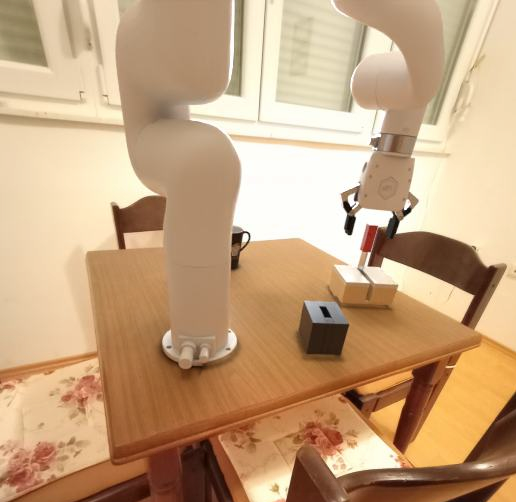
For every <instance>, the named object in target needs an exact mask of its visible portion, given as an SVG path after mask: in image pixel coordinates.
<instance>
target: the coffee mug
mask: <svg viewBox="0 0 516 502" xmlns="http://www.w3.org/2000/svg"><path fill="white" fill-rule="evenodd" d="M244 234H247V236H248V237H247V238H248V239H247V241H246V243H245V244H244V245H243V246H242V243H243V238H244ZM251 239H252V238H251V233H250V232H249V231H247V230H245V229H244V228H243V227H241V226H238V225H234V224H233V228H232V242H231V271H232V270H236V269H238V268H239V262H240V257H241V252H242V251H243V250H244V249H245V248H246V247H247V246H248V245H249V243H250V241H251Z"/></svg>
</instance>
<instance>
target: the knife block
mask: <svg viewBox="0 0 516 502" xmlns="http://www.w3.org/2000/svg"><path fill="white" fill-rule="evenodd" d="M349 327H350V322H349V321H348V320H347V318H346V317H345V315H344V313H343V311H342V309H341V307H340V306H339V304H338V303H337V301H317V300H315V301H314V300H303V303H302V309H301V314H300V320H299V326H298V332H299V335H300V338H301V341H302V345H303V347H304V350H305V353H306V355H332V356H341V355H342V352H343V349H344V344H345V342H346V339H347V335H348V331H349Z"/></svg>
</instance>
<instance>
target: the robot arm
mask: <svg viewBox="0 0 516 502" xmlns="http://www.w3.org/2000/svg"><path fill="white" fill-rule="evenodd" d="M330 1H331V4H332V5H333V7H334V8H335V10H336V11H337V12H339V13H340V14H342V15H344V16H345V17H347V18H349V19H351V20H353V21H355V22H357V23H360V24H362V25H364V26H367V27H369V28H372V29H374V30H376V31H378V32H380V33H382V34H383V35H384V36H386V37H388V38H389V39H390V40H391V41H392V42H393V43H394V45H395V46H396V47H397V48H398V50H392V51H384V52H382V51H381V52H377V53H372V54H370V55H368V56H366V57H365V58H363V59H362V60H361V61H360V62H359V63H358V65H356V67H355V69H354V71H353V74H352V76H351V80H350V92H351V96H352V99H353V101H354V103H355V104H356V105H357V106H358V107H360V108H362V109H364V110H369V111H371V110H372V111H382V113H381V117H380V120H379V124H378V129H377V132H376V134H375V135H374V136H373V137H371V136H369V138H368V140H367V146H370V147H371V150H372V152H368V155H367V157H366V159H365V161H364V164H363V166H362V169H361V172H360V174H359V177H358V181H357V183H356V184H354V185H352V186H349V187H347V188H344V189H343V190H342V189H341V191H339V198H340V203H341V207H342V208H343V210H344V211H345V213H346V217H345V221H344V227H343V231H344V233H345V234H346V235H347V236H350V237H351V236H352V235H353V232H354V228H355V224H356V220H357V217H356V214H357V213H358V212H359V211H360V210H361V209H365V210H372V211H373V210H374V211H384V212H385V211H386V212H390V213H391V215H392V217H390V218H389V219H388V224H387V226H386V228H385V229H386V230H385V232H384V236H385V237H386V238H388V239H389V240H393V239H394V238H395V235H396V234H397V232H398V230H399V226H400V222H403V220H404V218H405V217H407V216H408V215H410V214H411V213H412V211H413V209H414V208H415V207H416V206H417V205H418V204H419V202H420V199H419V198H417V197H416V196H415V195H414V194H413V193H412V192H410V189H411V185H412V181H413V176H414V170H415V163H416V162H415V161H416V157H412V155H413V153H414V149H415V146H416V143H417V140H418V136H419V134H420V130H421V127H422V123H423V120H424V117H425V114H426V111H427V108H428V105H429V103H431V102H432V101H433V100H434V98H435V97H436V96H437V93H438V92H439V90H440V87H441V86H442V81H443V78H444V73H445V66H446V65H445V64H446V62H445V61H446V59H445V58H446V54H445V53H446V51H445V49H446V47H445V36H444V35H445V34H444V24H443V16H442V12H441V9H440V6H439V4H438V2H437V0H330ZM116 30H117V31H116V35H115V47H114V48H115V49H114V52H115V57H114V58H115V68H116V76H117V83H118V91H119V97H120V98H119V99H120V106H121V107H120V108H121V114H122V122H123V127H124V128H123V129H124V136H125V143H126V149H127V153H128V157H129V162H130V165H131V167H132V170H133V172H134V174H135V176H136V177H137V179H138V180H139V181H140V183H141V184H142V185H143V186H144V187H145V188H147V189H148V190H149V191H151V192H153V193H154V194H157V195H158V196H161V197H163V198H166V202H165V211H164V216H163V224H162V249H163V258H164V271H165V280H166V293H167V304H168V305H167V306H168V315H169V326H170V327H169V330H167V331H166V332H165V334H164V335H163V337H162V340H161V346H162V351H163V352H164V355H166V357H168V358H169V359H171V360H172V361H174V362H176V363H177V364H178V366H179V367H180V368H181V369H182V370H188V369H189V370H190V369H191V368H192V366H193V367H203V366H204V364H206V363H210V362H215V361H219V360H221V359H223V358H226V357H227V356H229V355H231V354H232V353H233V352H234V350H235V349H236V348H237V345H238V337H237V335H236V334H235V332H234V331H233V330H232V329H231V328H230V327H229V326H230V301H231V300H230V299H231V275H232V274H231V272H232V270H231V242H232V228H233V225H234V219H235V213H236V209H237V203H238V199H239V195H240V190H241V184H242V174H243V173H242V172H243V171H242V162H241V156H240V153H239V151H238V148H237V146H236V145H235V142H234V141H233V140H232V139H231V137H230V135H228V133H226V131H224V130H223V129H222V128H221V127H219V126H217V125H215V124H213V123H212V122H208V121H205V120H201V119H193V118H191V106H201V105H207V104H210V103H213V102H216V101H217V100H219V99H220V98H221V97H222V96H223V95H224V94H225V93H226V91H227V89H228V88H229V85H230V82H231V78H232V73H233V62H234V37H235V36H234V35H235V34H234V31H235V0H135V1H133V2H132V3H131V4H129V5H128V6H127V8H126V9H125V11H124V12H123V13H122V15H121V17H120V20H119V22H118V26H117V29H116ZM351 195H353V202H352V203H351V204H350V202H349V196H351Z"/></svg>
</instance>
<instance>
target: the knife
mask: <svg viewBox="0 0 516 502" xmlns="http://www.w3.org/2000/svg"><path fill="white" fill-rule="evenodd" d="M378 229H379V224H377V223H372V222H371V223H370V222H367V223H366V225H365V229H364V232H363V236H362V239H361V244H360V248H359V250H360V251H361V253H360V256H359V261H358V264H357V267H356V268H357V269H358V270H359V271H360V273H361V274H362V273H363V269H364V266H365V265H366V262H367V258H368V254H369V253H372V249H373V246H374V243H375V239H376V236H377V232H378ZM365 267H366V266H365Z"/></svg>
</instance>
